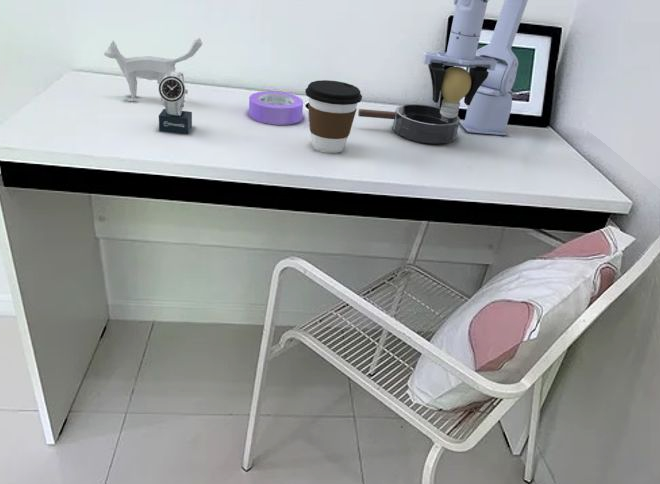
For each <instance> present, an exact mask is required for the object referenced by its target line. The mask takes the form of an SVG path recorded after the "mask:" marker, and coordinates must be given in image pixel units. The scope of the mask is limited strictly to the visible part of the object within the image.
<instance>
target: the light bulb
mask: <svg viewBox="0 0 660 484" xmlns="http://www.w3.org/2000/svg"><path fill="white" fill-rule="evenodd" d="M444 70H445V71H446V73H445V76H444V79H443V82H442V86H441V91H440V94H441V95H442V98H443V99H442V100H441V106H440V108H441V110H440V114H441V115H442V116H443V117H446V118H455V117H457V116H458V115H459V111H460V106H461V100H462V99H464V98H465V95H466V94H467V93H468V92H469V90H470V88H471V76H470V74H469V72H468V69H465V68H464V67H458V66H450V67H448V68H446V69H444ZM458 117H459V116H458Z"/></svg>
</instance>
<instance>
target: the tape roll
mask: <svg viewBox="0 0 660 484" xmlns="http://www.w3.org/2000/svg"><path fill="white" fill-rule="evenodd" d="M248 100H249V101H248V116H249V117H250V118H251V119H252V120H254V121H255V122H259V123H262V124H268V125H273V126H274V125H276V126H287V125H289V126H290V125H294V124H297V123H300V122H301V121H302V120H303V112H304V111H303V108H304V101H303V99H302V98H301V97H299V96H297V95H295V94H292V93H288V92H283V91H273V90H272V91H271V90H266V91H258V92H254V93H252V94H250V95H249V98H248Z"/></svg>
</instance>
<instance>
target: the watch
mask: <svg viewBox="0 0 660 484" xmlns="http://www.w3.org/2000/svg"><path fill="white" fill-rule="evenodd" d="M158 93H159V96H160V98H161V102H162V105H163V106H164V108H162V110H161V112H160V113H159V114H158V132H164V133H173V134H181V135H189V134H190V131H191V130H192V128H193V112H192V111H188V110H183V109H184V106H185V103H186V100H185V98H186V95H188V94H189V89H186V85H185V75H184V72H181V71H175V72H173V71H169V72H168V74H166V75H165V76H164V78H163V80H162V81H161V82H160V84H158Z"/></svg>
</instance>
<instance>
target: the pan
mask: <svg viewBox="0 0 660 484" xmlns="http://www.w3.org/2000/svg"><path fill="white" fill-rule="evenodd" d="M440 110H441V107H438V106H433V105H429V104H418V103H408V104H407V103H406V104H401V105H399V106H397V107H396V108H395V111H394V112H395V113H396V117H395V119H393V122H392V129H393V131H394V132H395V133H397V135H399V136H401V137H403V138H404V139H408V140H409V141H413V142H417V143H421V144H427V145H429V144H430V145H441V144H447V143H451V142H453V141H455V140H456V139H457V135H458V131H459V127H460V123H459V122H460V120H461V118H460V117H459V116H457V117H455V118H446V117H443V116H442V115H441V114H440Z"/></svg>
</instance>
